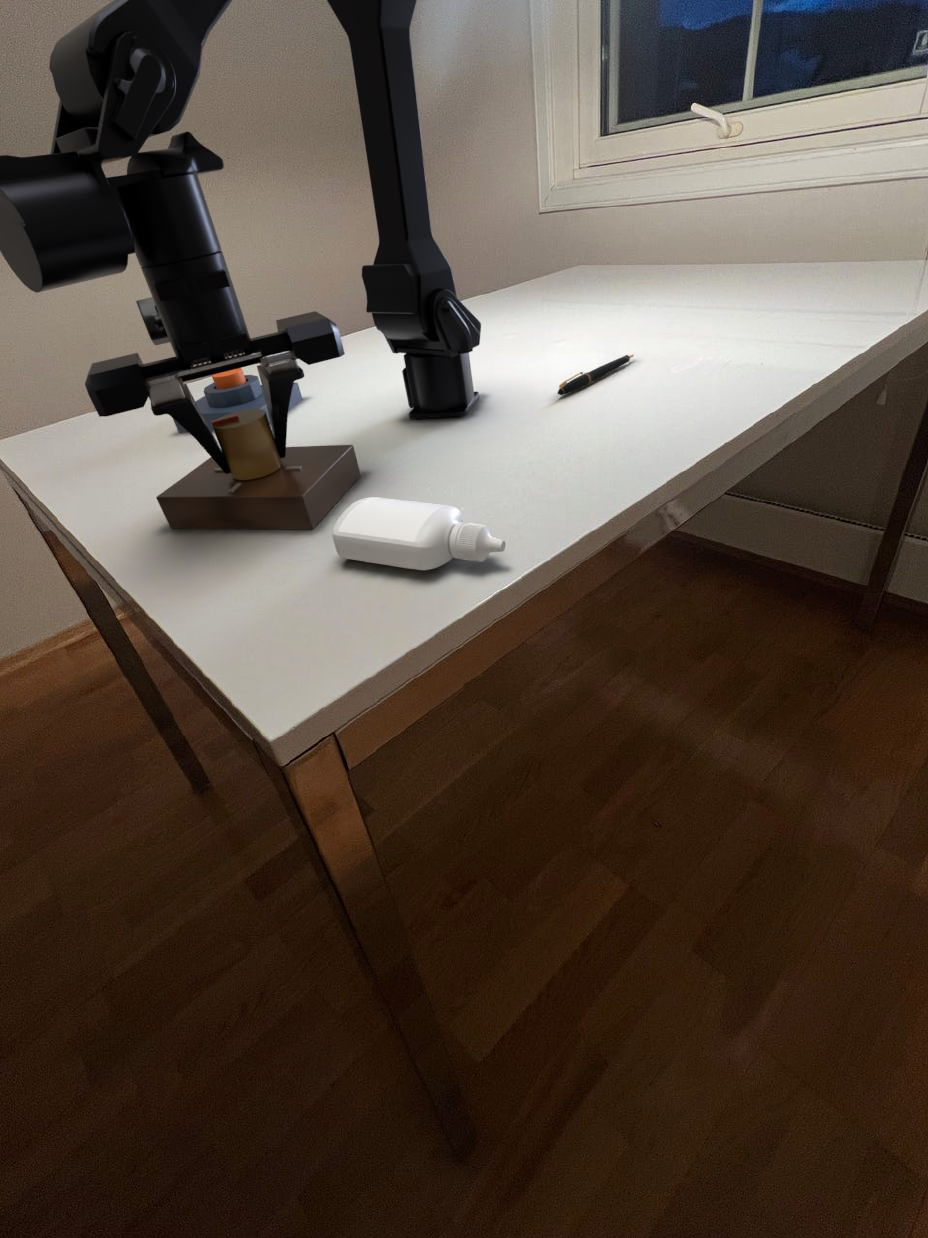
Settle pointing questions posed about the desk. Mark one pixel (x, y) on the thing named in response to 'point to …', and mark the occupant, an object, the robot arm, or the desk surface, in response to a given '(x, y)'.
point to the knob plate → (263, 492)
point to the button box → (236, 400)
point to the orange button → (229, 379)
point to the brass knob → (247, 444)
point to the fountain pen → (591, 375)
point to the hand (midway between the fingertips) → (255, 464)
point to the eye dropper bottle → (410, 534)
